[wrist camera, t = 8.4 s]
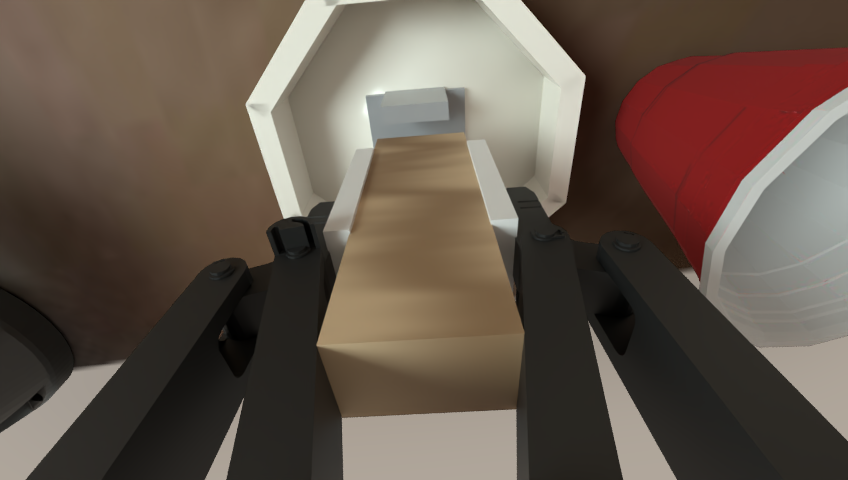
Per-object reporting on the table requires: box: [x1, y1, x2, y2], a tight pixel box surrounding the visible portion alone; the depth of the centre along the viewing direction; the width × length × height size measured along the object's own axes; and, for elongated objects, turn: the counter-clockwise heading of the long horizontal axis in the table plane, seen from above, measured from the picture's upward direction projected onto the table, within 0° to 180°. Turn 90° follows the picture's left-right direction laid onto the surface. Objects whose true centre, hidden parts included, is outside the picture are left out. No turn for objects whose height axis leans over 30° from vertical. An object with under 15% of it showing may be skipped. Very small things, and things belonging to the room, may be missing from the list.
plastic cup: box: [615, 48, 848, 347], centre depth 16 cm, size 11×11×12 cm
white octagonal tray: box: [246, 0, 586, 219], centre depth 19 cm, size 15×15×4 cm
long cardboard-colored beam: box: [316, 132, 525, 418], centre depth 13 cm, size 4×2×12 cm, turn 94°
